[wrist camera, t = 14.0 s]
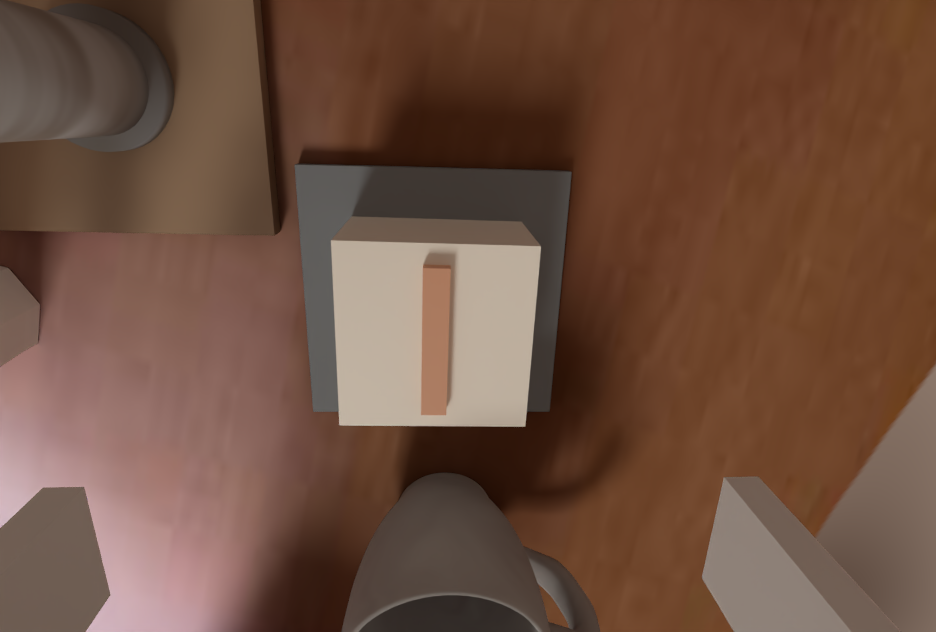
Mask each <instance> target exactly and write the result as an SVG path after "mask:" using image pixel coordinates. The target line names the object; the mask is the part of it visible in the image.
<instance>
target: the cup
mask: <svg viewBox="0 0 936 632" xmlns="http://www.w3.org/2000/svg"><path fill="white" fill-rule="evenodd" d="M39 318H40V304H39V303H38V302H37V300H36V299H35V298H34V297H33V296H32V295H31V294H30V292H29V291H28V290H27V289H26V288H25V287H24V285H23V284H22V283H21V282H20V281H19V280H18V279H17V277H16V276H15V275H14V274H13V273H12V272H11V270H10V269H9V268H7V267H3V266H0V367H1V366H2V365H4V364H5V363H7V362H8V361H10V360H11V359H13V358H14V357H16V356H17V355H19V354H20V353H22V352H23V351H25V350H27V349H29V348H30V347H32V346H34V345H36V344H37V343H38V335H39Z"/></svg>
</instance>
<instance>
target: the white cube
mask: <svg viewBox="0 0 936 632" xmlns="http://www.w3.org/2000/svg"><path fill="white" fill-rule="evenodd" d="M540 253H541V246H540V244H539V243H538V242H537V241H536V239H535V238H534V237H533V235H532V234H531V233H530V232H529V230H528V229H527V228H526V227H525V225H524V224H523V223H522V222H519V221H487V220H454V219H422V218H390V217H357V216H351V218H350V219H349V220H348V221H347V222H346V223H345V225H344V226H343V227H342V228H341V229H340V230H339V232H338V233H337V234H336V235H335V236H334V237H333V239H332V240H331V254H332V276H333V297H334V319H335V341H336V362H337V384H338V406H339V425H353V426H493V427H525V425H526V414H527V402H528V391H529V379H530V368H531V356H532V345H533V333H534V322H535V310H536V299H537V287H538V276H539V264H540Z"/></svg>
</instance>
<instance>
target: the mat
mask: <svg viewBox="0 0 936 632" xmlns="http://www.w3.org/2000/svg"><path fill="white" fill-rule="evenodd" d="M571 174H572V172H570V171H560V170H523V169H485V168H448V167H410V166H373V165H335V164H295V176H296V190H297V203H298V216H299V229H300V243H301V256H302V269H303V282H304V295H305V309H306V322H307V335H308V348H309V362H310V375H311V388H312V401H313V412H339V406H338V384H337V362H336V341H335V319H334V297H333V276H332V254H331V240H332V239H333V237H334V236H335V235H336V234H337V233H338V232H339V230H340V229H341V228H342V227H343V226H344V225H345V223H346V222H347V221H348V220H349V219H350V218H351V216H357V217H390V218H422V219H454V220H487V221H519V222H522V223H523V224H524V225H525V227H526V228H527V229H528V230H529V232H530V233H531V234H532V235H533V237H534V238H535V239H536V241H537V242H538V243H539V244H540V246H541V253H540V264H539V276H538V287H537V299H536V310H535V322H534V333H533V345H532V356H531V368H530V379H529V391H528V402H527V412H550V401H551V390H552V379H553V369H554V358H555V347H556V336H557V325H558V315H559V304H560V293H561V282H562V271H563V260H564V250H565V239H566V228H567V217H568V206H569V196H570V185H571Z"/></svg>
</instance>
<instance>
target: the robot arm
mask: <svg viewBox="0 0 936 632" xmlns="http://www.w3.org/2000/svg"><path fill="white" fill-rule="evenodd" d="M702 579H703V580H704V582H705V584H706V585H707V587H708V589H709V590H710V592H711V594H712V595H713V597H714V599H715V600H716V602H717V604H718V605H719V607H720V609H721V611H722V612H723V614H724V616H725V617H726V619H727V621H728V622H729V624H730V626H731V627H732V629H733V631H734V632H901V631H900V630H899V629H898V628H897V627H896V625H895V624H894V623H893V622H892V621H891V620H890V619H889V618H888V617H887V616H886V615H885V614H884V613H883V611H882V610H881V609H880V608H879V607H878V606H877V605H876V604H875V603H874V602H873V601H872V600H871V598H870V597H869V596H868V595H867V594H866V593H865V592H864V591H863V590H862V589H861V588H860V587H859V585H858V584H857V583H856V582H855V581H854V580H853V579H852V578H851V577H850V576H849V575H848V573H847V572H846V571H845V570H844V569H843V568H842V567H841V566H840V565H839V564H838V563H837V562H836V560H835V559H834V558H833V557H832V556H831V555H830V554H829V553H828V552H827V551H826V550H825V548H823V546H822V545H821V544H820V543H819V542H818V541H817V540H816V539H815V538H814V537H813V535H812V534H811V533H810V532H809V531H808V530H807V529H806V528H805V527H804V526H803V525H802V524H801V522H800V521H799V520H798V519H797V518H796V517H795V516H794V515H793V514H792V513H791V512H790V511H789V509H788V508H787V507H786V506H785V505H784V504H783V503H782V502H781V501H780V500H779V499H778V498H777V496H776V495H775V494H774V493H773V492H772V491H771V490H770V489H769V488H768V487H767V486H766V485H765V483H764V482H763V481H762V480H761V479H760V478H759V477H724V480H723V484H722V489H721V493H720V498H719V502H718V507H717V512H716V516H715V521H714V525H713V530H712V534H711V539H710V543H709V548H708V552H707V557H706V561H705V566H704V570H703V575H702ZM109 596H110V591H109V587H108V583H107V579H106V575H105V571H104V567H103V563H102V558H101V554H100V550H99V546H98V542H97V538H96V534H95V530H94V526H93V522H92V518H91V513H90V509H89V505H88V501H87V497H86V493H85V489H84V487H59V488H42V489H41V490H40V491H39V492H38V493H37V494H36V495H35V496H34V497H33V498H32V499H31V500H30V501H29V502H28V503H27V504H26V505H25V506H23V507H22V508H21V509H20V510H19V511H18V512H17V513H16V514H15V515H14V516H13V517H12V518H11V519H10V520H9V521H8V522H7V523H6V524H5V525H3V526H2V527H1V528H0V632H86V630H87V629H88V627H89V626H90V624H91V623H92V621H93V620H94V618H95V617H96V615H97V614H98V612H99V611H100V609H101V608H102V606H103V605H104V603H105V602H106V600H107V599H108V598H109Z"/></svg>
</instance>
